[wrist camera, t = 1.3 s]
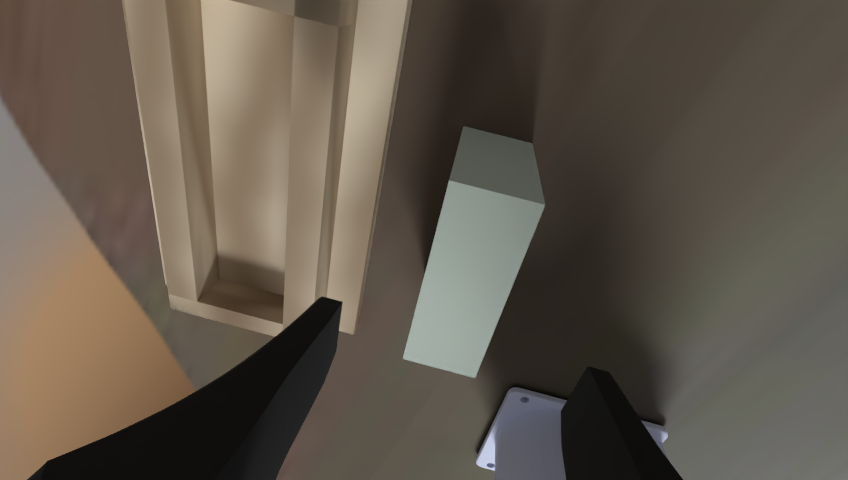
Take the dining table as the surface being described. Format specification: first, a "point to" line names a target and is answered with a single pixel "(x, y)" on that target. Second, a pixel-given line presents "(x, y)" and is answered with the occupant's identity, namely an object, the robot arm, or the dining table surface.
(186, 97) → the beige rectangular tray
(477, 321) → the pale teal block
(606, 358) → the dining table surface
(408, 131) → the dining table surface
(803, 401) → the dining table surface
